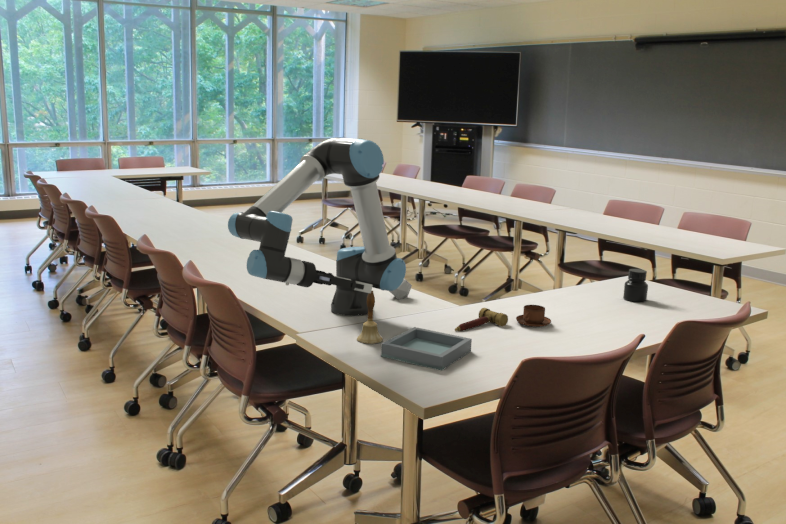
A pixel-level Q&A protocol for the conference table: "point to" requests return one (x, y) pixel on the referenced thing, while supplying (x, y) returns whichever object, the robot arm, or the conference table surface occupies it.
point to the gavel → (485, 320)
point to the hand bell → (370, 325)
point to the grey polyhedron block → (402, 290)
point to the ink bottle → (636, 286)
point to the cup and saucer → (533, 316)
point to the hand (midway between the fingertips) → (360, 286)
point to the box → (426, 348)
